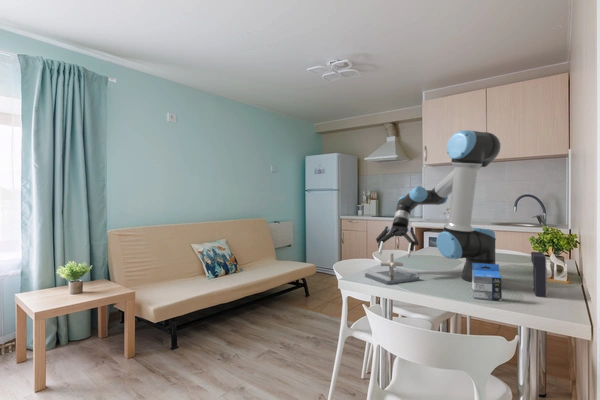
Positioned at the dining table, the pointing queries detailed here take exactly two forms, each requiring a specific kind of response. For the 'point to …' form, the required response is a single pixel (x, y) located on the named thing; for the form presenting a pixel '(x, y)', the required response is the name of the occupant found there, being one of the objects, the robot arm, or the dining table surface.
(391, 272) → the pipe connector
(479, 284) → the ink cartridge box
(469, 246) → the robot arm
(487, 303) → the dining table surface
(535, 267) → the calculator
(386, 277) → the plate
